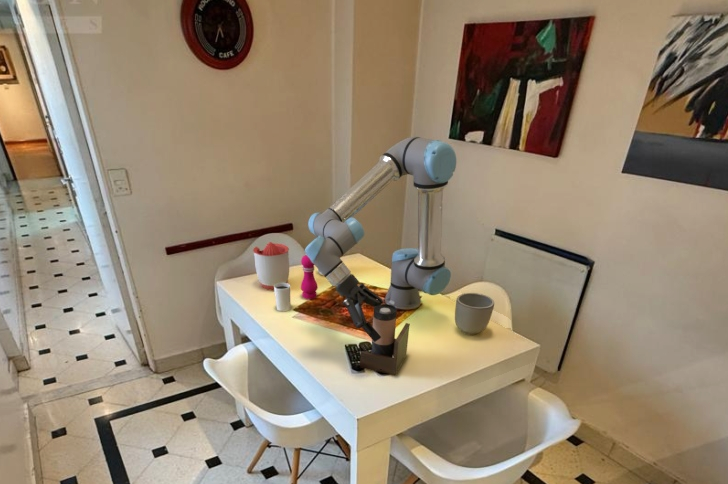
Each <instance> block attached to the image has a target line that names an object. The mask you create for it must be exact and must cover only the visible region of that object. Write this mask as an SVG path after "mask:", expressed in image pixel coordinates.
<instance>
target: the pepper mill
mask: <svg viewBox="0 0 728 484" xmlns="http://www.w3.org/2000/svg"><path fill="white" fill-rule="evenodd" d="M300 260H301V261H300V263H301V265H302V271H303V277H302V281H301V283H300V290H301V291H302V294H301V295H302V298H303V299H305V300H314V299H316V298H317V296H318V295H317V293H318V292H317V290H318V282H317V280H316V278H315V275H314V271H315V265H314V264H313V263H312V261H311V260H310V259H309V257H308V256H307V254H306V253H305V255H303V256H302V257H301V259H300Z"/></svg>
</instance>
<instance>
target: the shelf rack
mask: <svg viewBox="0 0 728 484" xmlns="http://www.w3.org/2000/svg"><path fill="white" fill-rule="evenodd" d="M410 326H411V323H408V322H405V324H404V325H403V327H402V329H401V330H400V332H399V333H398V335H397V337H395V340H394V349H393V357H388V356H383V355H379V354H374V353H372V352H369V351H365V350H361V352H360V361H359V368H360V369H365V370H370V371H373V372H374V371H375V372H378V373H382V374H386V375H391V376H397V374H398V372H399V370H400V368H401V366H402V365H403V363H404V361H405V359H406V357H407V353H408V343H409V333H410ZM380 369H382V370H380Z"/></svg>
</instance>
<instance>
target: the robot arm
mask: <svg viewBox="0 0 728 484" xmlns="http://www.w3.org/2000/svg"><path fill="white" fill-rule="evenodd" d="M456 169H457V155H456V152H455V149H454V148H453V147H452V145H451V144H450V143H448V142H444V141H442V140H440V139H432V138H426V137H420V136H410V137H406V138H404V139H402V140H400V141H398V142H397V143H395V144H394V145H393V146H391V147H390V148H389V149H387V150H386V151H385V152H384V153H383V154H381V155H380V157H379V158H378V162H377V163H376V164H375V165H374V166H373V167H372V168H371V169H370V170H369V171H367V173H365V174H364V175H363V176H362V177H361V178H360V179H358V181H357V182H355V184H353V185H352V186H351V187H350V188H349V189H347V191H346V192H344V193H343V194H342V195H341V196H340V197H339V198H338V199H336V200H335V201H334V202H333V203H332V204H331V205H330V206H329V207H328V208H327V209H326V210H324V212H315V213H312V214H311V215H310V217H309V219H308V223H307V224H308V225H307V226H308V229H309V232H310V233H311V234H313V235H314V236H315V238H314V239H313V240H312V241H311V242H310V243H309V244H308V245H306V247H305V249H304V253H305V255H306V254H307V256H308V257H309V259H310V260H311V261H312V263H313V264H314V267H316V268H317V270H318V269H319V270H320V272H321V273H322V274H323V275H324V276H323V275H322V276H323V277H324V278H325V279H326V280H327V281H328V283H329V284H330V285H331V286H332V287H333V288H334V287H335V289H334V290H335V291H336V292H337V293H338V295H339V296H340V297H342V298H343V297H345V299H344V300H343V301H342V303H343V305H344V306H345V308H346V310H347V313H348V314H349V316H350V318H351V320H352V322H353V324H354V327H355V328H356V329H359V330H360V329H363V331H364V332H365V334H366V335H368V336H369V338H370V339H371V341H372V340H373V341H374V342H376V341H377V340H379V339H380V338H381V336H380V335H379V334H378V333H377V332H376V330H375V329H374V328H373V325H372V324H371V323H370V322H369V321H367V320H366V316H365V313H364V310H363V307H362V305H363V303H364V304H367V305H369V306H371V307H373V308H374V307H375V306H376V307H378V306H380V305H381V304H389V305H392V306H394V307H396V309H397V311H402V312H408V311H409V312H410V311H414V310H417V309H419V307H421V302H422V301H421V297H420V292H423V293H424V294H427V295H429V296H437V295H439V294H441V293H442V292H444V291H445V289H446V288H447V287H448V285H449V283H450V282H451V277H452V273H451V270H450V269H449V268H448V267H446V264H445V263H446V258H445V255H443V254H442V241H443V240H442V239H443V238H442V237H443V208H444V207H443V206H444V189H445V188H446V187H447V186H448V184H449V181H450V179H452V177H453V176H454V172H456ZM407 175H410V176H413V179H412V180H413V187H414V189H415V190H416V191H417V248H411V247H410V248H409V247H408V248H407V247H406V248H400V249H397V250H395V251H393V253H392V257H391V267H390V284H389V287H388V290H387V292H386V295H385V296H384V297H385V298H384V301H383V298H382V297H380V296H379V295H377V294H376V293H375V292H373V291H372V290H371V289H370V288H368V287H367V286H366V285H365V284H364V283H363V282H361V283H360V282H359V280H358V278H357V277H356V276H355V275H354V274H353V273H351V272H352V271H351V270H350V269H349V268H348V266H347V265H346V264H345V263H344V260H342V259H341V258H342V257H343V256H344V255H345V254H347V252H349V251H350V250H351V249H352V248H354V246H356V245H357V244H358V243H359V242H360V241H361V240H362V239H363V238H364V237H365V230H364V227H363V225H362V223H360V222H359V220H357V219H356V218H355V217H354V216H356V214H357V213H359V212H360V211H361V210H362V209H363V208H364V207H365V206H366V205H368V204H369V203H370V202H371V200H373V199H374V198H375V197H376V196H377V195H378V194H379V193H381V192H382V191H383V190H384V189H385V188H386V187H388V185H389V184H391V183H392V182H393V181H394V182H396V181H399V179H400V178H402V177H403V176H407ZM333 270H334V271H333ZM332 271H333V272H332ZM331 272H332V273H331ZM330 273H331V274H330ZM359 283H360V284H359Z"/></svg>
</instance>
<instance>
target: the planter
mask: <svg viewBox="0 0 728 484" xmlns="http://www.w3.org/2000/svg"><path fill="white" fill-rule="evenodd" d="M494 309H495V301H494V299H493V298H492V297H491V296H489V295H486V294H483V293H477V292H464V293H461V294H460V295H458V296H457V297H456V300H455V308H454V323H455V326H456V327H457V328H458V330H459V331H460V332H461V333H462V334H464V335H468V336H476V335H478V334H479V333H481V332H483V331H484V330H486V329H487V327H488V326H489V323H490V321H491V317H492V315H493V311H494Z"/></svg>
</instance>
